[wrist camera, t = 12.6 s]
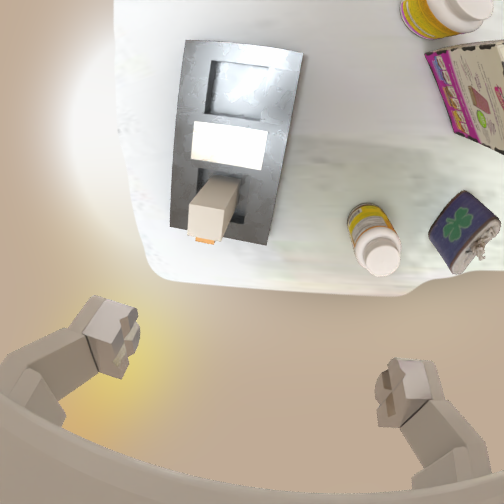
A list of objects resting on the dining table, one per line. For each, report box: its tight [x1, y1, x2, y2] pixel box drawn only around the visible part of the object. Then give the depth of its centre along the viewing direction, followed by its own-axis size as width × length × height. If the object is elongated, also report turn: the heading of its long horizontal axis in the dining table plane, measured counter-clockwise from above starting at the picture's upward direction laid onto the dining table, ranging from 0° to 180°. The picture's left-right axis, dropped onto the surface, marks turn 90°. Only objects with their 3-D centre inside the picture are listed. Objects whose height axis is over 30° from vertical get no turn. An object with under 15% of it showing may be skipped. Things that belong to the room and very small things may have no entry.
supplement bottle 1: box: [347, 204, 401, 277], centre depth 36 cm, size 6×6×10 cm
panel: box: [170, 40, 303, 245], centre depth 36 cm, size 24×13×3 cm, turn 171°
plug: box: [187, 174, 241, 245], centre depth 36 cm, size 4×4×10 cm
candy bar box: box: [425, 40, 504, 155], centre depth 22 cm, size 11×5×16 cm, turn 29°
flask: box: [428, 190, 501, 274], centre depth 33 cm, size 9×3×11 cm, turn 149°
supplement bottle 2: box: [400, 0, 493, 40], centre depth 19 cm, size 7×7×13 cm
